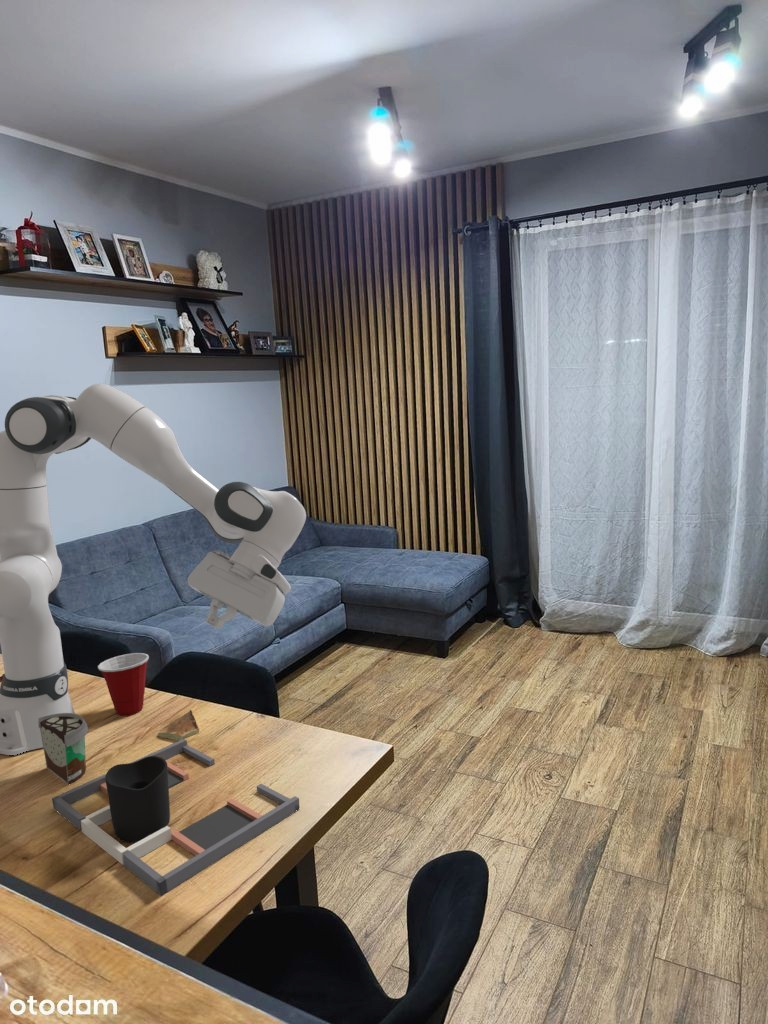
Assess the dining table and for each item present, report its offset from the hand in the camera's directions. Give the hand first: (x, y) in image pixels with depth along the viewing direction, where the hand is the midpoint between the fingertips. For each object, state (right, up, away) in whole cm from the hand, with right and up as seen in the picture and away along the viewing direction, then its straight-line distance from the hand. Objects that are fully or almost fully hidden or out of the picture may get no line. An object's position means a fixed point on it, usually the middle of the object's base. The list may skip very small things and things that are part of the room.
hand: (212, 625), depth 132 cm
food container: (-26, -28, 0) cm, 38 cm away
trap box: (-3, -29, -14) cm, 32 cm away
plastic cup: (-25, -23, +25) cm, 42 cm away
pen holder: (-7, -30, -19) cm, 36 cm away
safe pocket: (-9, -30, -21) cm, 38 cm away
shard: (-11, -25, +15) cm, 31 cm away
